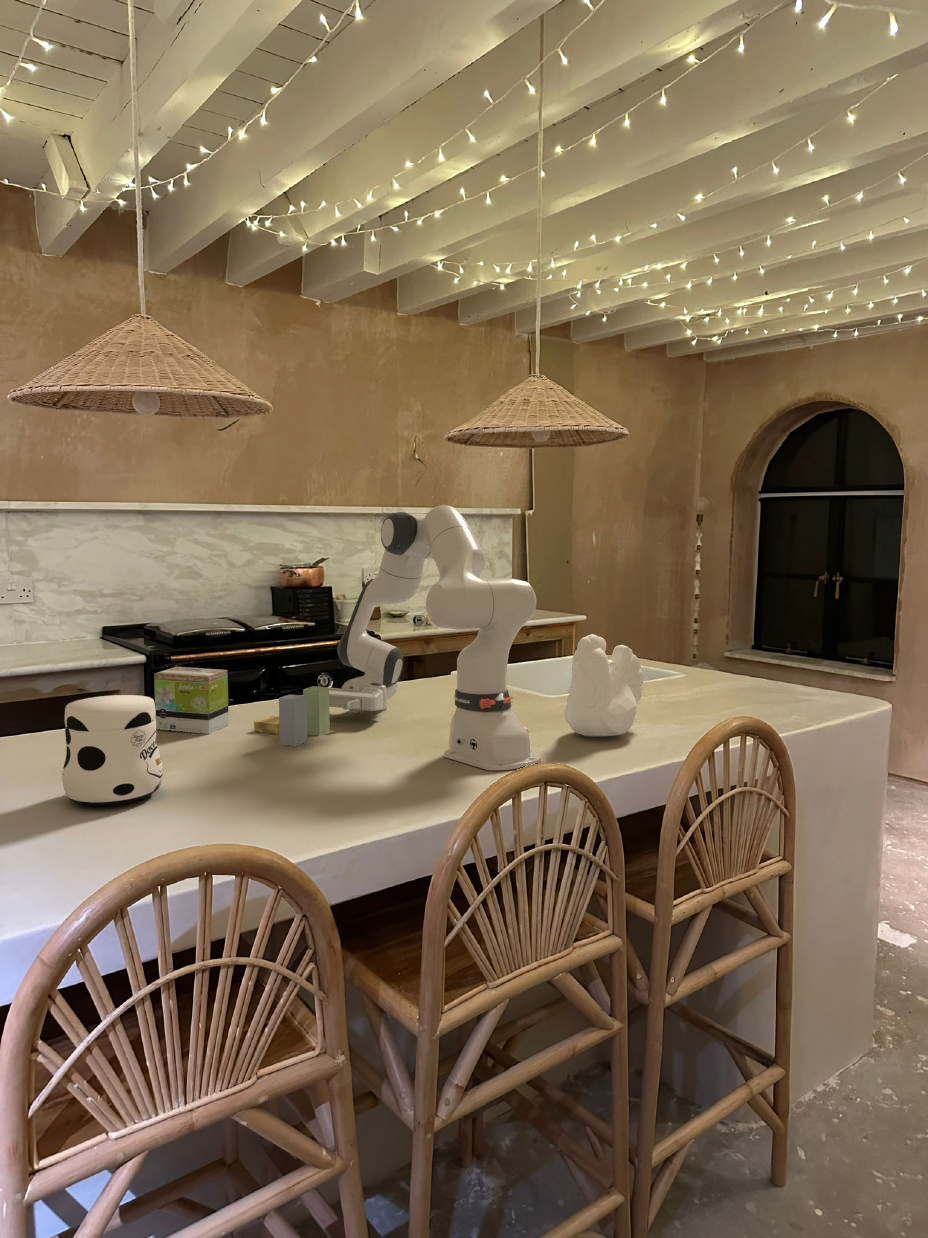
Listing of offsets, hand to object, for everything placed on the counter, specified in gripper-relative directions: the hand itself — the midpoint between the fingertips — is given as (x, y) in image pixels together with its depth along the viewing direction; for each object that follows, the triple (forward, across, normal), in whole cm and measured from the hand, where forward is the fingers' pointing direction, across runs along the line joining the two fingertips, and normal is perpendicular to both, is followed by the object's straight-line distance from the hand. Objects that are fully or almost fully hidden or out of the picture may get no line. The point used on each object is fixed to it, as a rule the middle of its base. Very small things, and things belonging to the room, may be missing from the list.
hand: (329, 704), depth 214 cm
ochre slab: (+8, -11, +6) cm, 15 cm away
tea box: (+15, -31, +6) cm, 35 cm away
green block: (+6, 0, +6) cm, 8 cm away
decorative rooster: (-23, +66, +6) cm, 70 cm away
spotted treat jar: (+63, -6, +6) cm, 64 cm away
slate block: (+16, +1, +6) cm, 18 cm away
